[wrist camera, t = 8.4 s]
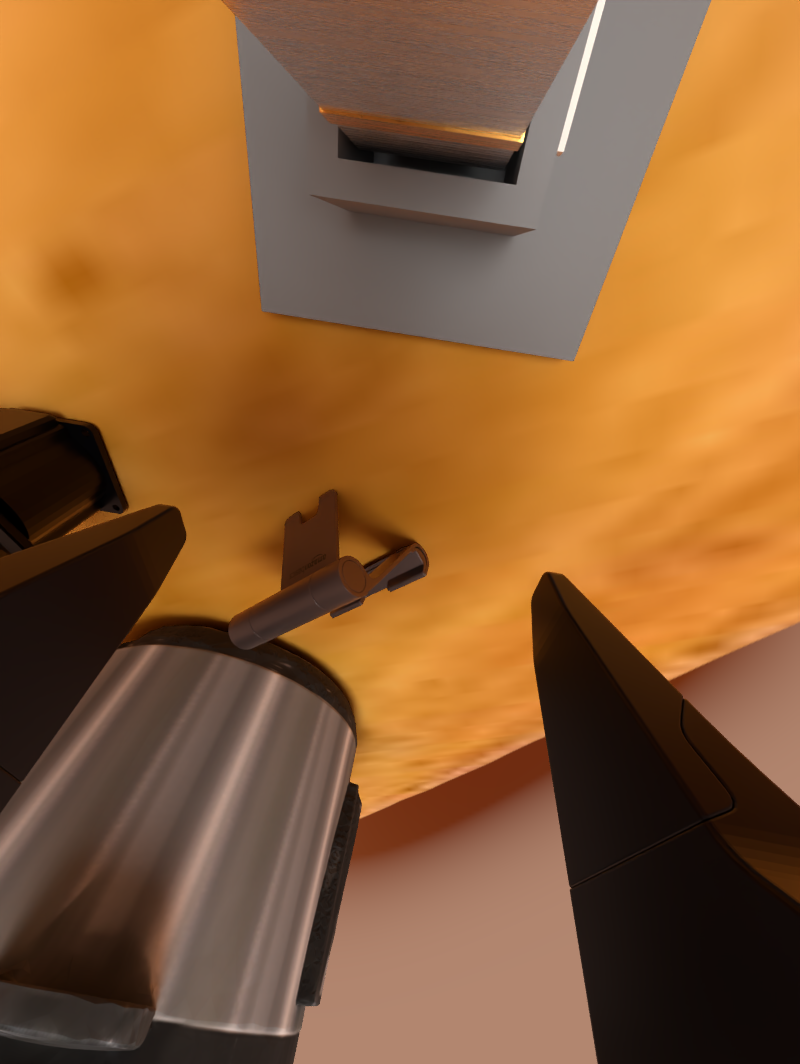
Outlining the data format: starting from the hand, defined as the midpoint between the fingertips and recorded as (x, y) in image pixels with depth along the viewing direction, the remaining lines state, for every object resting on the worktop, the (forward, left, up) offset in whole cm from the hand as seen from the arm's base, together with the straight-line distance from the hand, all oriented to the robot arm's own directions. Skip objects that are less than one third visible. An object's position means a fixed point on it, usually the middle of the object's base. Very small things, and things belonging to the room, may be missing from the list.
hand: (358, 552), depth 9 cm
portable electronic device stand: (-11, +3, -13) cm, 18 cm away
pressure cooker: (-35, +13, -13) cm, 40 cm away
